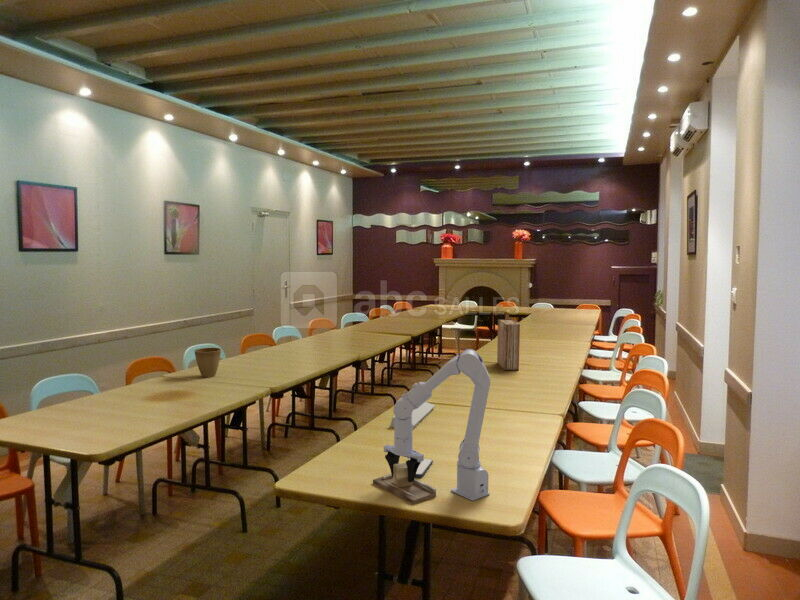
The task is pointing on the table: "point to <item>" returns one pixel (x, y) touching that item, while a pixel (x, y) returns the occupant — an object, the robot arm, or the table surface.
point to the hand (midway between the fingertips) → (403, 478)
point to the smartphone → (423, 467)
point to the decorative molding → (418, 413)
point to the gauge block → (401, 475)
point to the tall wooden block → (508, 344)
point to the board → (407, 489)
